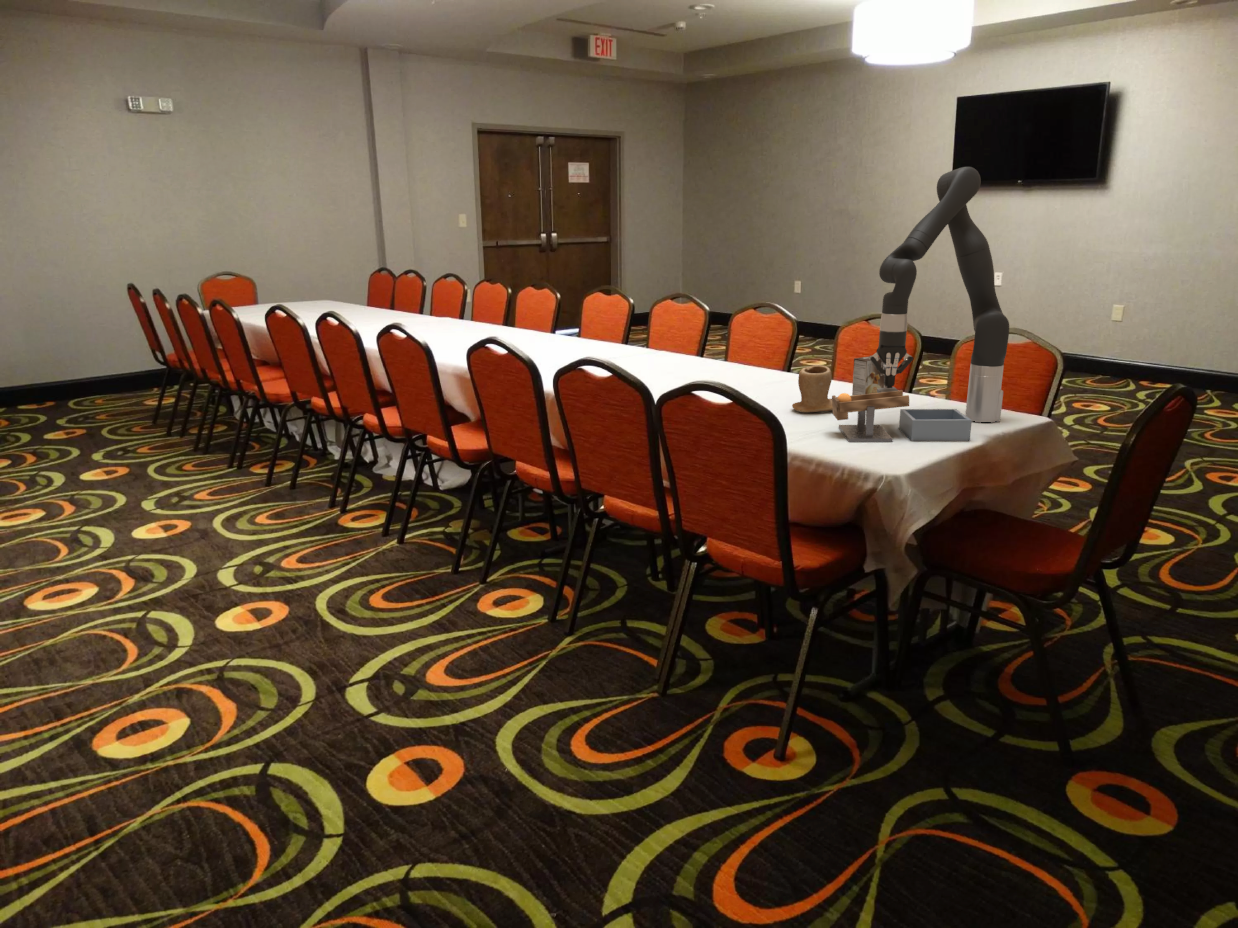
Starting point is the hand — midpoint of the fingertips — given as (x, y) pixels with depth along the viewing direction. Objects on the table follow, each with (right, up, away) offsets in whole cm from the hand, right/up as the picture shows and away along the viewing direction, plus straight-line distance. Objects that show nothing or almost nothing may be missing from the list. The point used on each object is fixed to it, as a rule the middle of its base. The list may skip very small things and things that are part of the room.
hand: (888, 387), depth 249 cm
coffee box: (+3, -4, +30) cm, 30 cm away
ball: (-15, -4, -8) cm, 18 cm away
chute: (-7, -7, -3) cm, 11 cm away
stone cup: (-16, -6, +24) cm, 29 cm away
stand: (-9, -14, -6) cm, 18 cm away
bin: (+11, -14, -7) cm, 19 cm away
